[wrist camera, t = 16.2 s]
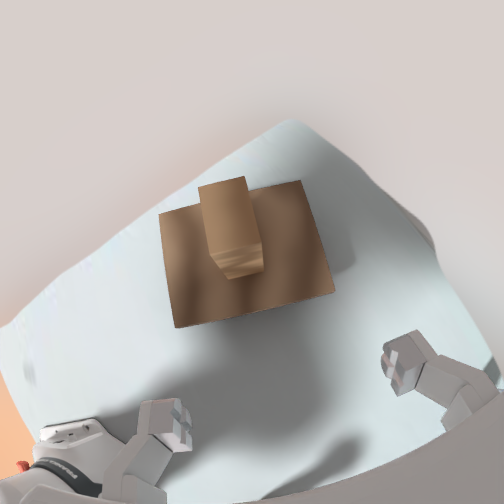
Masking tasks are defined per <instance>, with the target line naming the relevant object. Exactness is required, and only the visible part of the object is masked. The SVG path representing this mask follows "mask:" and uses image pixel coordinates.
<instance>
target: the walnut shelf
mask: <svg viewBox="0 0 504 504" xmlns="http://www.w3.org/2000/svg"><path fill="white" fill-rule="evenodd" d="M249 195H250V199H251V203H252V207H253V211H254V215H255V219H256V223H257V227H258V231H259V235H260V239H261V243H262V254H263V265H264V272H260V273H255V274H251V275H247V276H242V277H238V278H234V279H229V280H228V279H227V277H226V276H225V275H224V273H223V272H222V271H221V269H220V268H219V266H218V265H217V264H216V262H215V261H214V260H213V258H212V257H211V256H210V254H209V248H208V243H207V237H206V232H205V226H204V220H203V215H202V209H201V203H198V204H195V205H191V206H187V207H183V208H180V209H176V210H172V211H169V212H165V213H161V214H159V223H160V232H161V240H162V249H163V256H164V264H165V271H166V278H167V284H168V291H169V297H170V303H171V309H172V314H173V320H174V325H175V328H184V327H189V326H194V325H199V324H204V323H209V322H214V321H219V320H224V319H228V318H233V317H237V316H242V315H246V314H251V313H255V312H259V311H263V310H268V309H272V308H276V307H280V306H284V305H288V304H292V303H296V302H300V301H304V300H307V299H311V298H315V297H319V296H322V295H326V294H330V293H333V292H334V291H335V287H334V284H333V280H332V277H331V273H330V270H329V267H328V263H327V260H326V256H325V253H324V250H323V247H322V243H321V240H320V237H319V234H318V231H317V228H316V225H315V221H314V218H313V215H312V212H311V209H310V206H309V203H308V201H307V198H306V195H305V192H304V189H303V186H302V183H301V180H298V181H294V182H289V183H284V184H279V185H274V186H270V187H265V188H261V189H256V190H252V191H249Z"/></svg>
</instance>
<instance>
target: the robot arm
mask: <svg viewBox="0 0 504 504" xmlns="http://www.w3.org/2000/svg"><path fill="white" fill-rule="evenodd" d="M383 351H384V354H383V355H382V356H381V366H382V370H383V372H384V374H385V376H386V377H388V378H390V379H392V380H391V387H392V388H393V390H394V392H395V394H396V395H397V397H398V396H400V395H402V394H405V393H407V392H409V391H411V390H413V389H415V390H416V391H418V392H419V393H421V394H423V395H424V396H426V397H428V398H429V399H431V400H433V401H435V402H436V403H438V404H440V405H441V406H443V407H445V408H447V411H446V412H445V414H444V415H443V417H442V419H441V422H442V424H443V426H444V428H445V430H446V431H447V432H445V433H443V434H442V435H440V436H438V437H437V438H435V439H433V440H431V441H430V442H428V443H426V444H424V445H422V446H421V447H419V448H417V449H415V450H413V451H411V452H409V453H407V454H405V455H403V456H401V457H399V458H397V459H395V460H392V461H390V462H388V463H386V464H383V465H381V466H379V467H376V468H374V469H371V470H369V471H366V472H364V473H361V474H358V475H356V476H353V477H350V478H347V479H344V480H341V481H338V482H335V483H332V484H329V485H325V486H322V487H318V488H315V489H311V490H307V491H303V492H299V493H295V494H290V495H285V496H281V497H275V498H270V499H264V500H258V501H251V502H243V503H234V504H504V390H503V391H502V392H501V393H500V392H499V391H498V389H497V388H496V386H495V385H494V384H493V382H492V381H491V380H490V378H489V377H488V376H487V374H486V373H485V372H484V371H481V370H479V369H476V368H474V367H471V366H469V365H466V364H464V363H461V362H458V361H456V360H453V359H451V358H448V357H446V356H443V355H439V356H438V355H437V354H436V352H435V351H434V350H433V348H432V347H431V346H430V344H429V343H428V342H427V341H426V339H425V338H424V337H423V335H422V334H421V333H420V332H419V331H418V330H414V331H412V332H409V333H407V334H404V335H402V336H400V337H397V338H395V339H393V340H391V341H388V342H386V343H384V345H383ZM181 405H182V402H181V401H180V399H179V398H170V399H160V400H148V401H142V403H141V405H140V411H139V418H138V426H137V435H133V436H132V438H131V439H130V440H129V442H128V443H127V444H126V445H125V444H124V443H122V442H121V441H119V440H118V439H116V438H115V437H113V436H112V435H110V434H109V433H108V432H107V431H106V430H105V428H104V427H103V426H102V425H101V424H100V423H99V422H98V421H97V420H95V419H88V420H83V421H78V422H73V423H67V424H62V425H56V426H49V427H44V428H42V429H41V430H40V443H37V444H35V445H34V446H33V451H32V453H33V459H34V464H33V465H32V466H31V467H29V464H28V462H26V461H19V462H17V463H16V464H17V466H18V468H19V470H20V474H17V475H14V476H11V477H8V478H5V479H2V480H0V504H167V493H166V492H165V491H163V490H161V489H159V488H157V487H155V485H156V483H157V482H158V480H159V478H160V476H161V475H162V473H163V471H164V470H165V468H166V466H167V464H168V463H169V461H170V459H171V457H172V456H173V454H174V453H173V452H185V451H192V436H191V435H190V434H189V431H190V430H191V428H192V420H191V415H190V413H189V411H188V409H187V408H186V407H184V406H181ZM88 427H89V428H88Z"/></svg>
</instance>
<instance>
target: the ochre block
mask: <svg viewBox="0 0 504 504" xmlns="http://www.w3.org/2000/svg"><path fill="white" fill-rule="evenodd" d="M198 191H199V197H200V203H201V209H202V215H203V220H204V226H205V232H206V237H207V243H208V248H209V254H210V256H211V257H212V258H213V260H214V261H215V262H216V264H217V265H218V266H219V268H220V269H221V271H222V272H223V273H224V275H225V276H226V277H227V279H228V280H229V279H234V278H238V277H242V276H247V275H251V274H255V273H260V272H264V265H263V254H262V243H261V239H260V235H259V231H258V227H257V223H256V219H255V215H254V211H253V207H252V203H251V199H250V195H249V191H248V187H247V184H246V180H245V176H242V177H238V178H234V179H229V180H225V181H221V182H217V183H213V184H209V185H205V186H201V187H198Z"/></svg>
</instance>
